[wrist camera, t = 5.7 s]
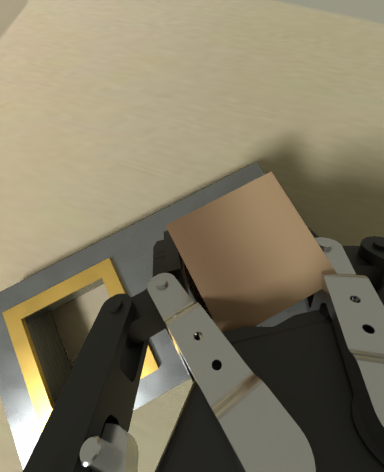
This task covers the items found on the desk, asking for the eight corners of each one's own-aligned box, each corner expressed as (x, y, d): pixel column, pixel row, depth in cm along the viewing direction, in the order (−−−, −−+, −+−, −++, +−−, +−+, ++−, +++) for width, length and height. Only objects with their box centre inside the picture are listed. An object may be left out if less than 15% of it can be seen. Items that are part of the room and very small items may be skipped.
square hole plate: (248, 176, 18) (258, 159, 15) (319, 289, 16) (344, 293, 14) (5, 300, 17) (-32, 306, 14) (52, 439, 15) (20, 476, 12)
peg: (229, 228, 17) (271, 171, 8) (256, 275, 17) (340, 278, 7) (183, 252, 17) (165, 225, 7) (208, 301, 16) (225, 342, 7)
